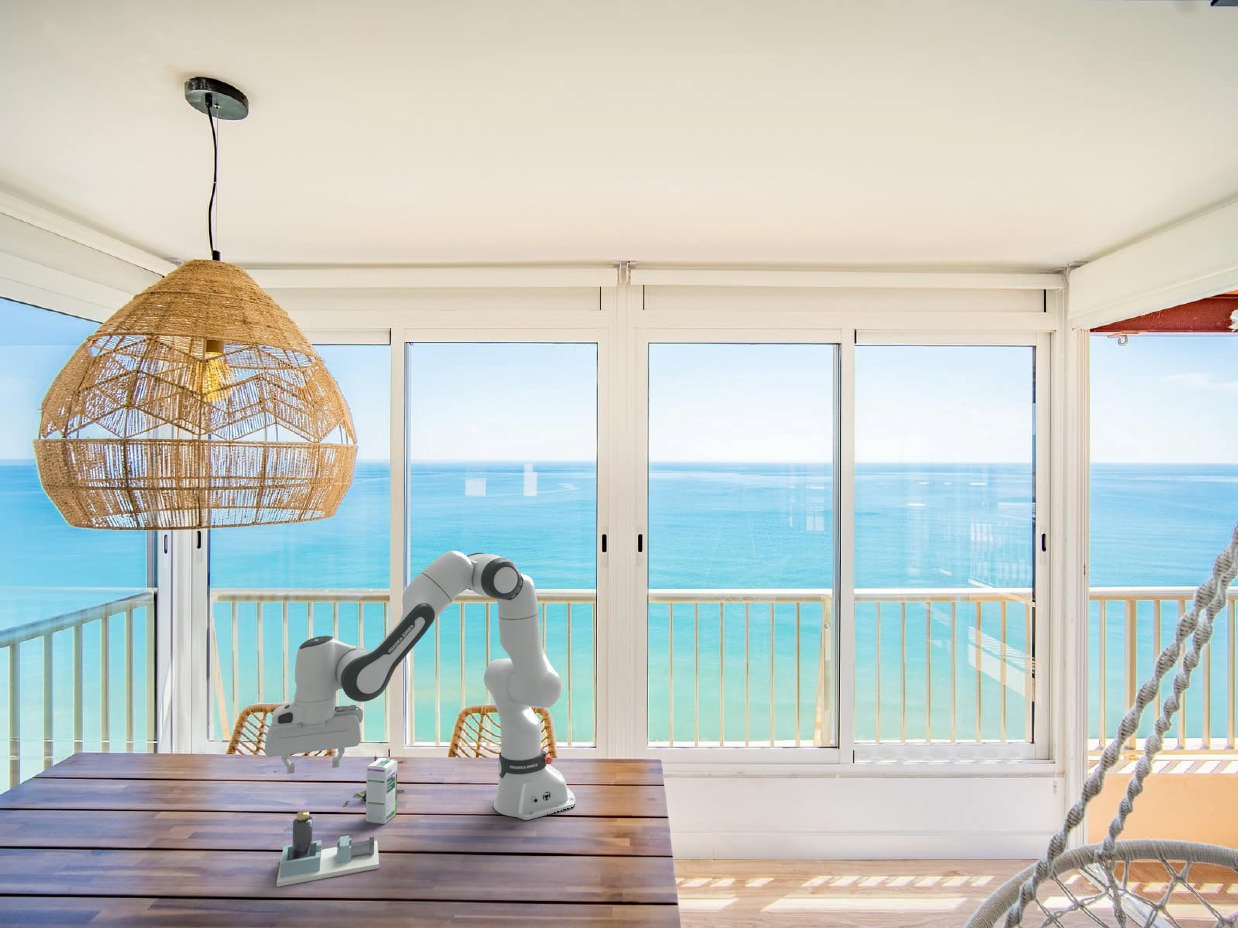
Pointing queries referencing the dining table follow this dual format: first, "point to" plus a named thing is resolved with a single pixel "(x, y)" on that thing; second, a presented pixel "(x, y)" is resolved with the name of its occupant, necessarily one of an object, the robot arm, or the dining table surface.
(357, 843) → the pin
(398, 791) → the olive brown irregular figure
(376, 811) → the syrup box
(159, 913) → the dining table surface
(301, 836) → the dark grey gold-tipped cylinder
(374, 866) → the dock
